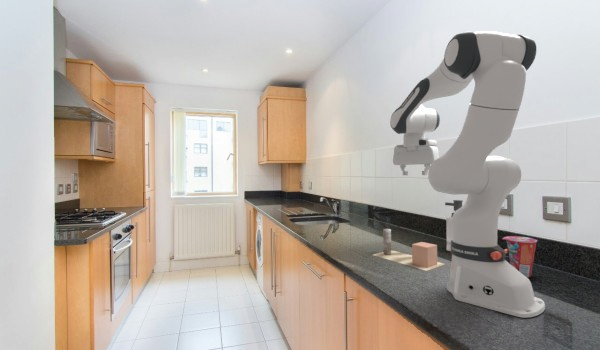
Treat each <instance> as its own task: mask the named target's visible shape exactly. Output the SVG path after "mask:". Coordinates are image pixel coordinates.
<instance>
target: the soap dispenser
mask: <svg viewBox="0 0 600 350" xmlns="http://www.w3.org/2000/svg"><path fill="white" fill-rule="evenodd" d="M452 201H453V202H447V201H446V202H444V205H445V206H447V207H448V206H451V207H453V211H454V212H455V211H456V210H458V209H459V208H461V207H462V206H463V201H464V200H460V199H453V200H452ZM454 212H452V213H451V216H446V219H445V220H446V222H445V224H446V227H445V229H446V233H445V235H446V251H448V252H451V240H452V216H453V214H454Z"/></svg>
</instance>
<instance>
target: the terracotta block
mask: <svg viewBox="0 0 600 350" xmlns="http://www.w3.org/2000/svg"><path fill="white" fill-rule="evenodd" d="M411 251H412V252H411V255H412V264H415V265H419V266H423V267H426V268H429V267H432V266H435V265H437V262H438V245H437V244H433V243H428V242H423V241H420V242H416V243H412V244H411Z"/></svg>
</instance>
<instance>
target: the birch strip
mask: <svg viewBox="0 0 600 350" xmlns="http://www.w3.org/2000/svg"><path fill="white" fill-rule="evenodd" d="M382 234H383V237H382V239H383V241H382V242H383V245H382V247H383V251H382V252H378V253H373V254H372V256H375V257H377V258H381V259H384V260H389V261H391V262H395V263H398V264H401V265H404V266H405V265H406V266H409V267H412V268H415V269H418V270H422V271H424V272H427V271H431V270H434V269H436V268H439V267H441V266H445V265H446V263H443V262H439V261H437V265H435V266H432V267H429V268H426V267H423V266H419V265H415V264H412V254H408V253H405V252H404V253H403V252H400V251H397V250H392V229H391V228H383V231H382Z"/></svg>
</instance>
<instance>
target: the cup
mask: <svg viewBox="0 0 600 350" xmlns="http://www.w3.org/2000/svg"><path fill="white" fill-rule="evenodd" d="M501 239H502V240H506V245H507V249H508V250H507V252H508V256H509V264H511V265H512V266H513V267H514V268H516V269H517V270H518V271H519V272H520V273H522V274H523V275H524V276H526V277H527V278H531V277H532V272H533V266H534V259H535V252H536V247H537V243H538V239H535V238H532V237H526V236H520V235H519V236H518V235H510V236H509V235H507V236H504V237H502V238H501Z"/></svg>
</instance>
